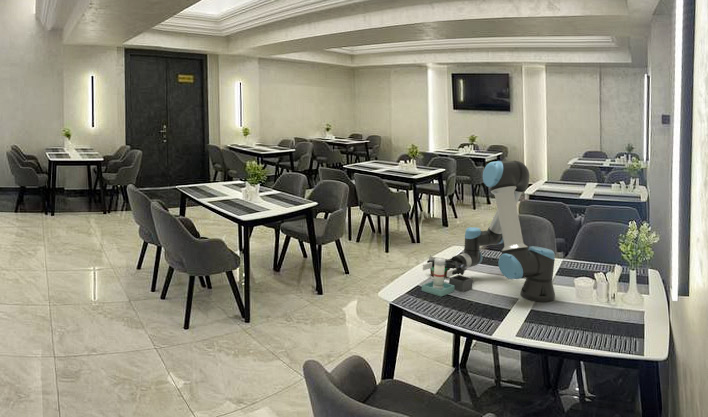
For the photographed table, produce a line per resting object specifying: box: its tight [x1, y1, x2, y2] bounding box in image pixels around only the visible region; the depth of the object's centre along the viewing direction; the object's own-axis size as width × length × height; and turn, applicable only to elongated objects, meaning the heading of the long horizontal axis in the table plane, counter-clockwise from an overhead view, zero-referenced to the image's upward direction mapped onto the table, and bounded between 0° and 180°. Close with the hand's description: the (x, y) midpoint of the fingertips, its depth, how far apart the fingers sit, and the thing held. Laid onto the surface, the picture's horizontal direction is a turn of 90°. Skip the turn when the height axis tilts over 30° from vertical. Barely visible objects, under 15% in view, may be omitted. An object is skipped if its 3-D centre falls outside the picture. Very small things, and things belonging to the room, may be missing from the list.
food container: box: [428, 254, 451, 279], centre depth 296 cm, size 12×6×10 cm, turn 62°
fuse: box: [432, 257, 446, 290], centre depth 274 cm, size 5×5×15 cm
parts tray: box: [421, 280, 456, 297], centre depth 275 cm, size 11×11×3 cm
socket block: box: [448, 274, 474, 293], centre depth 280 cm, size 8×8×5 cm
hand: (435, 270), depth 271 cm, fingers open, 13 cm apart
